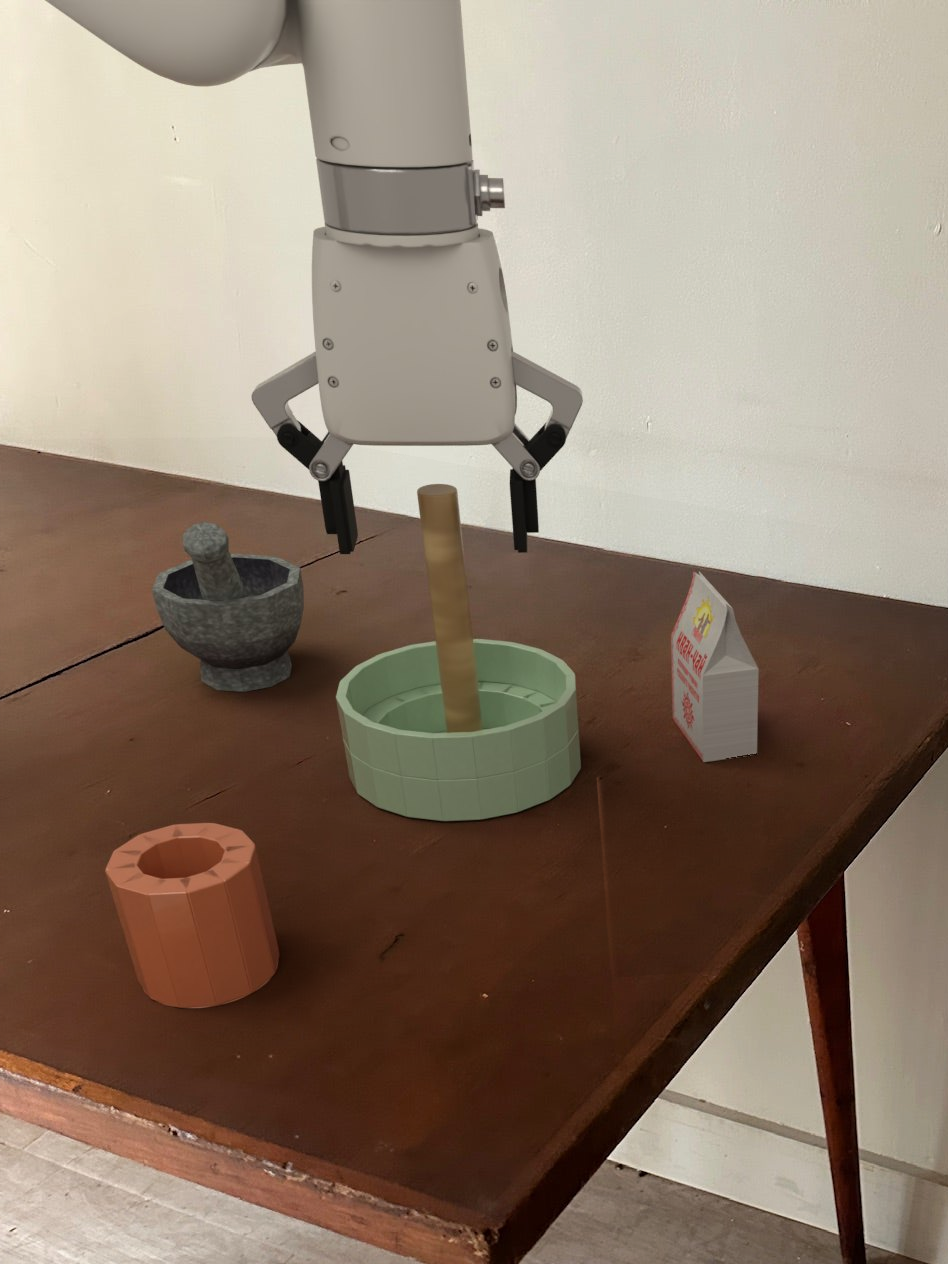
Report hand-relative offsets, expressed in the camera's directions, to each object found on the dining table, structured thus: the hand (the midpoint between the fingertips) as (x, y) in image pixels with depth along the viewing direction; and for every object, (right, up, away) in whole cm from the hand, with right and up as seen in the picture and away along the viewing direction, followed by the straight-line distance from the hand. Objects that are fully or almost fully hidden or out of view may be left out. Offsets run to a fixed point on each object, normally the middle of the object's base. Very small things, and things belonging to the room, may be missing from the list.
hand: (435, 545), depth 81 cm
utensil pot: (-9, -25, -9) cm, 28 cm away
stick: (0, -11, +8) cm, 14 cm away
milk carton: (+15, -8, +14) cm, 22 cm away
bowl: (0, -11, +9) cm, 15 cm away
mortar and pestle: (-18, -3, +20) cm, 27 cm away
